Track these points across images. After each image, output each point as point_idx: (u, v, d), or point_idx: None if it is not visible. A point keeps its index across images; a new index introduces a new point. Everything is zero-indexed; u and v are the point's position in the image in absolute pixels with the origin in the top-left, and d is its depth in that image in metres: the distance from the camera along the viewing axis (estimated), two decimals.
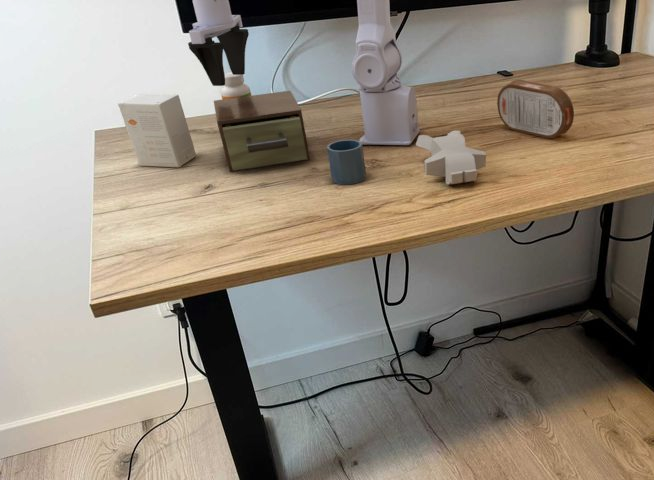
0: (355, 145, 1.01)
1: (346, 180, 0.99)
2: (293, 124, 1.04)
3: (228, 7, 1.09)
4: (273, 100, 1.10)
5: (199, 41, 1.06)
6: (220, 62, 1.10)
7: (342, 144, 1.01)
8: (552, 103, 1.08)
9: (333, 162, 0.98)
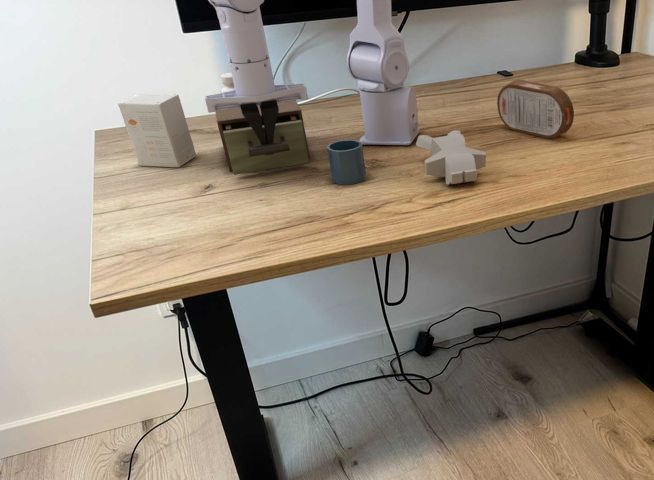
0: (355, 145, 1.01)
1: (346, 180, 0.99)
2: (294, 127, 1.02)
3: (256, 79, 0.92)
4: None
5: None
6: (257, 131, 0.97)
7: (342, 144, 1.01)
8: (552, 103, 1.08)
9: (333, 162, 0.98)
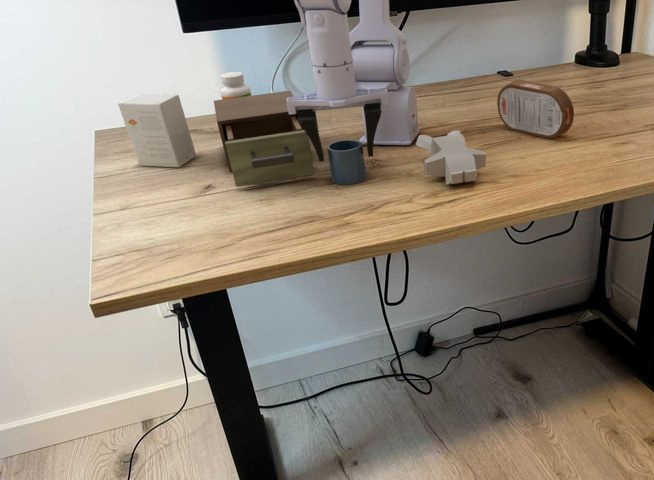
0: (355, 145, 1.01)
1: (346, 180, 0.99)
2: (299, 137, 0.98)
3: None
4: (273, 100, 1.10)
5: None
6: None
7: (342, 144, 1.01)
8: (552, 103, 1.08)
9: (333, 162, 0.98)
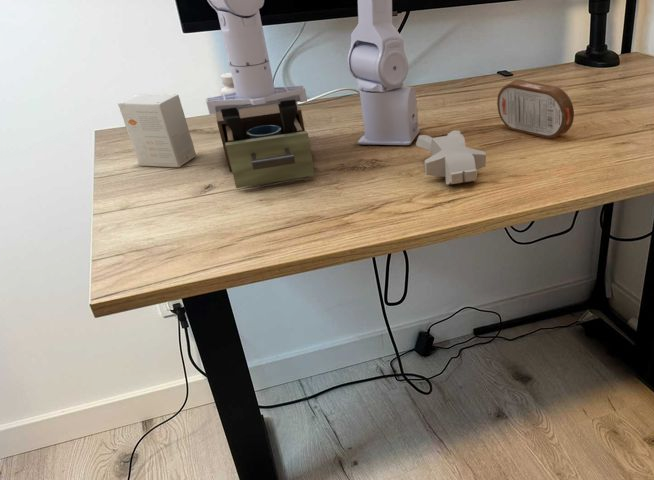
0: (276, 130, 1.03)
1: None
2: (300, 138, 0.98)
3: None
4: None
5: None
6: None
7: (263, 129, 1.03)
8: (552, 103, 1.08)
9: None
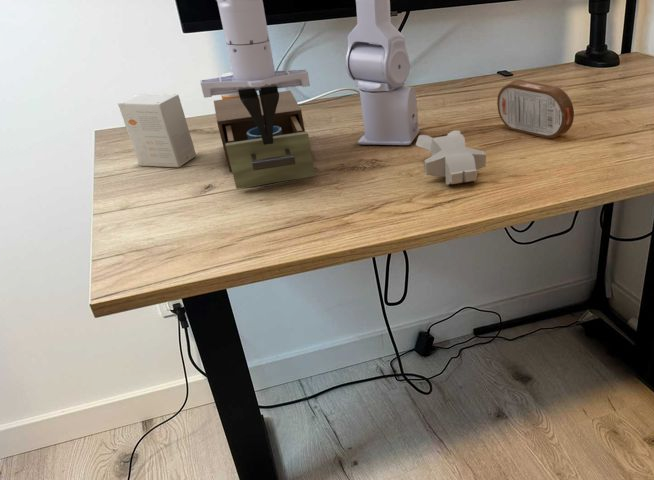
0: (276, 131, 1.03)
1: None
2: (300, 139, 0.97)
3: None
4: None
5: None
6: None
7: None
8: (552, 103, 1.08)
9: None
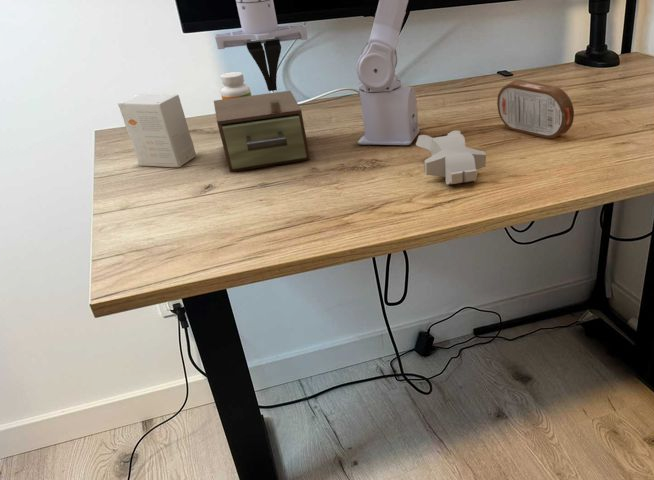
0: None
1: None
2: (292, 122, 1.04)
3: None
4: (273, 100, 1.10)
5: None
6: None
7: None
8: (552, 103, 1.08)
9: None
